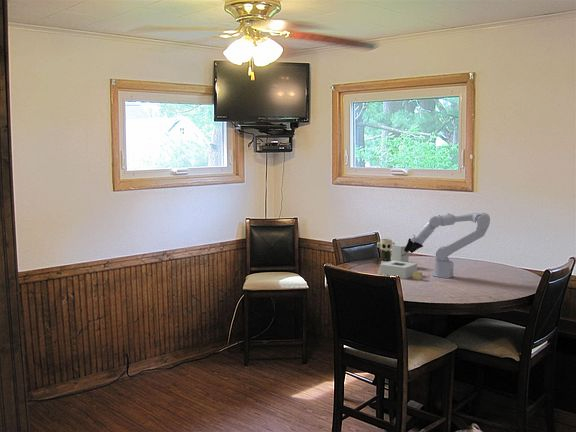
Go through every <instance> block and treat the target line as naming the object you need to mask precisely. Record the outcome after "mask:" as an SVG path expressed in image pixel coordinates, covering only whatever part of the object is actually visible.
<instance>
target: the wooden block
mask: <svg viewBox="0 0 576 432" xmlns="http://www.w3.org/2000/svg"><path fill="white" fill-rule="evenodd" d="M412 280H415V281H422V280H423V272H422V271H418V270H417V271H414V272H413V276H412Z"/></svg>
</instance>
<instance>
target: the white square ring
mask: <svg viewBox="0 0 576 432" xmlns="http://www.w3.org/2000/svg"><path fill="white" fill-rule="evenodd" d="M379 265H380V266H379V267H380V268H379V275H380V274H384V275H398V276H400V278H399V279H404V280H405V279H408V278H411V277H413V272H414V271H418V263H414V262H410V261H408V262H401V261H394V260H392V261H391V260H388V261H386V262H384V263H380V264H379Z"/></svg>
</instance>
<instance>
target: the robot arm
mask: <svg viewBox="0 0 576 432" xmlns="http://www.w3.org/2000/svg"><path fill="white" fill-rule="evenodd" d="M470 221H471V222H473V223H474V224H476V225H477V226H476V228H475V229H476V230H474V231H472V232H470V233H469V234H467V235H464V236H462V237H461V238H459V239H458V240H455V241H454V242H452V243H450V244H447V245H446V246H440V247H439V248H438V249H437V250H436V252H435V259H434V260H435V261H434V262H435V263H434V265H435V266H434V274H431V276H432V277H439V278H444V279H449V278H452V277H454V269H455V268H454V265H455V264H454V262H453V261H451V260H450V258H449V256H451V255H453V253H454V252H457V251H459V250H461V249H463V248H465V247H467V246H469V245H470V244H472V243H474V242H476V241H477V240H479V239H482V238H483V237H484V236H485V234H486V233H487V230H488V229H489V227H490V222H491V217H490V215H489V214H488V213H485V212H482V213H481V212H475V213H473V212H472V213H467V214H462V215H454V214H452V213H447V214H439V215H433V216H432V217H430V219H429V221H428V222H426V224H424V226H423V227H422V228H421V229H420V230H419V231H418V232H416V234H413V235H412V238H410V237H409V238H408V240H407V243H406V244H405V245H406V247H405V249H404V251H405V252H406V253H407V252H408V251H409V253H411V254H413V253H414V252H416V251H417V250H419V249H421V248H423V247H424V245H423V244H424V243H425V241H427V239H428V238H429V237H430V236H431V235H432V234H433V233H434V231H435V230H436V228H439V227H440V226H441V227H445V226H454V224H455V223H459V222H470Z"/></svg>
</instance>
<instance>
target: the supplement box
mask: <svg viewBox="0 0 576 432" xmlns="http://www.w3.org/2000/svg"><path fill="white" fill-rule="evenodd" d="M406 245H407V244H403V243H402V244H399V243H398V244H395V245H393V244H392V249H391V260H390V261H392V260H394V261H401V262H409V257H410V256H409V255H410V254H409V253H410V251H408V252H407V253H406V252H405V251H404V249H405V247H406Z"/></svg>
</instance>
